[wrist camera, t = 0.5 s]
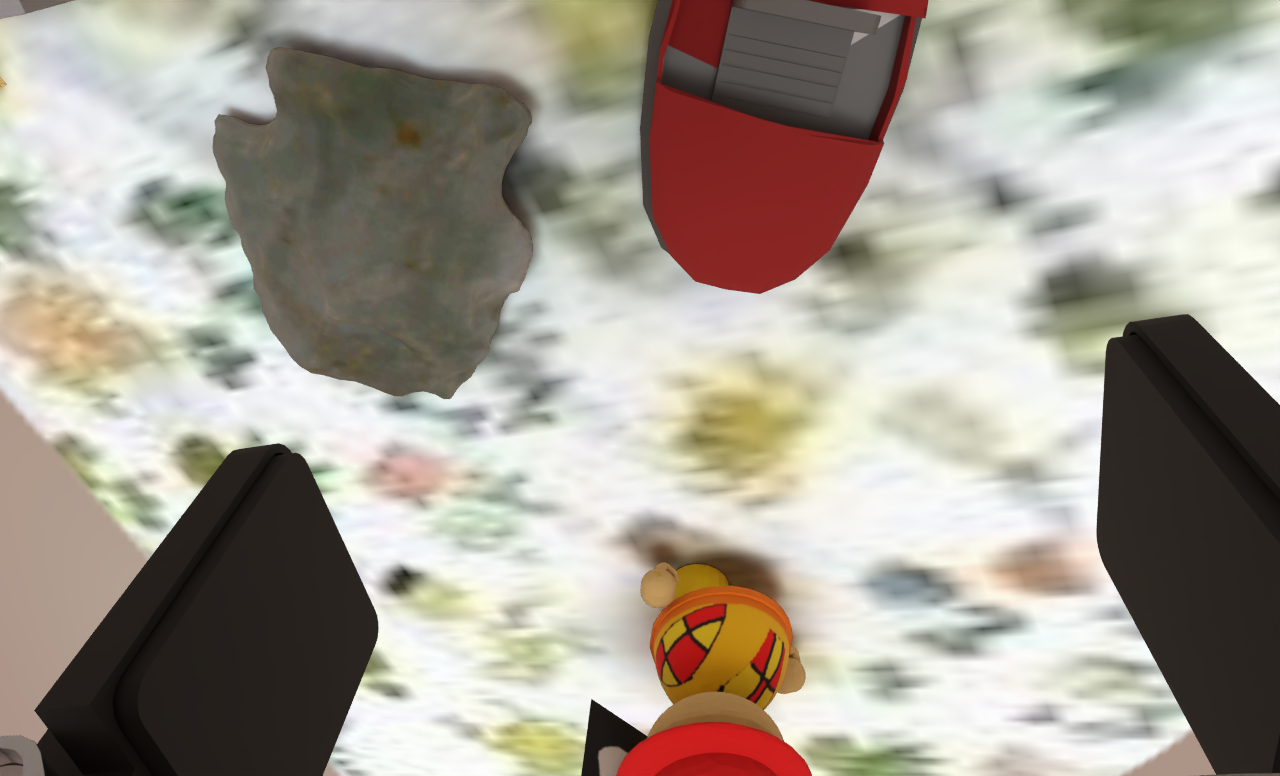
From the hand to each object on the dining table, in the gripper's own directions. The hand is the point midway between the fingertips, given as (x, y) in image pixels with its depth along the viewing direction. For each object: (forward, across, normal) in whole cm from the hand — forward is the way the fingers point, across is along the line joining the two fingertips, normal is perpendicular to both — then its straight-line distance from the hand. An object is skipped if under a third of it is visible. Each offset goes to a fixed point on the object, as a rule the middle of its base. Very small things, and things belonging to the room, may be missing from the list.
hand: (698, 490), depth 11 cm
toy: (+30, +4, +30) cm, 42 cm away
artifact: (+30, +15, +5) cm, 34 cm away
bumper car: (+30, -3, +1) cm, 30 cm away
